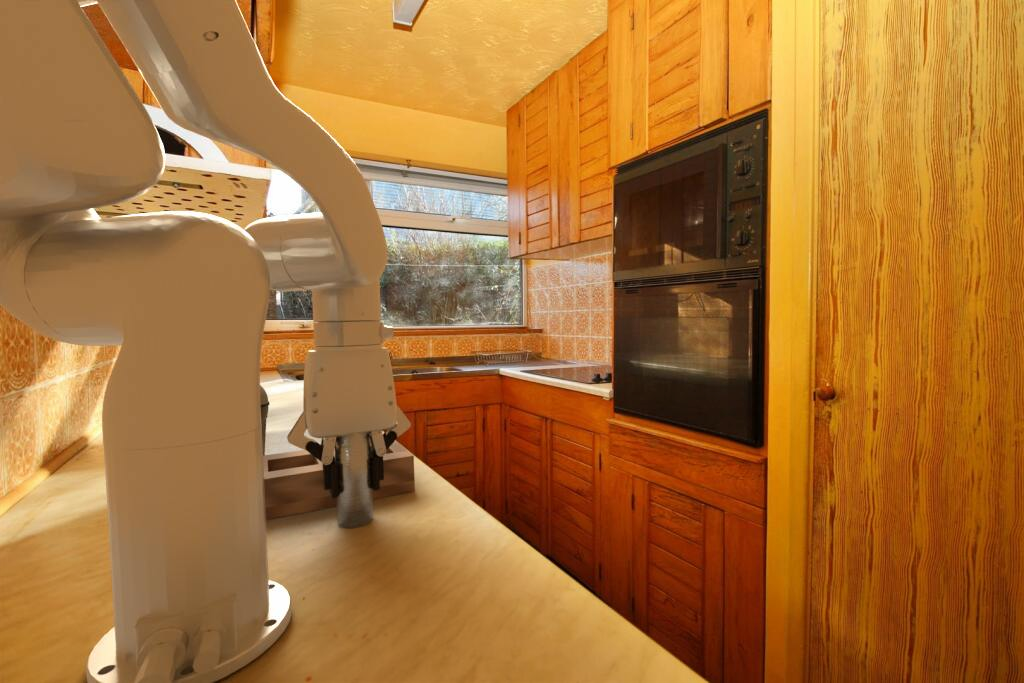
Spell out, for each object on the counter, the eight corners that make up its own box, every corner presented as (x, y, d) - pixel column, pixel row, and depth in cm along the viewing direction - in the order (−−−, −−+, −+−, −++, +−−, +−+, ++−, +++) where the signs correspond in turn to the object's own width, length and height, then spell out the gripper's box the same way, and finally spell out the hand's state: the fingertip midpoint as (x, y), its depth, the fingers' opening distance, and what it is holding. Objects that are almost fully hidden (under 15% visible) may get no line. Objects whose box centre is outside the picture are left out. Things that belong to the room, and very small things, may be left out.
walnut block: (393, 468, 76) (392, 437, 76) (414, 490, 65) (413, 455, 65) (253, 491, 67) (251, 457, 66) (251, 522, 56) (249, 481, 56)
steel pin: (376, 523, 55) (372, 422, 55) (340, 531, 53) (336, 426, 53) (369, 511, 59) (365, 416, 58) (335, 518, 57) (331, 420, 56)
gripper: (409, 334, 62) (414, 470, 63) (268, 339, 54) (275, 494, 55) (427, 335, 56) (431, 487, 56) (268, 341, 48) (276, 517, 49)
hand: (354, 489), depth 56 cm, fingers closed on steel pin, 4 cm apart
